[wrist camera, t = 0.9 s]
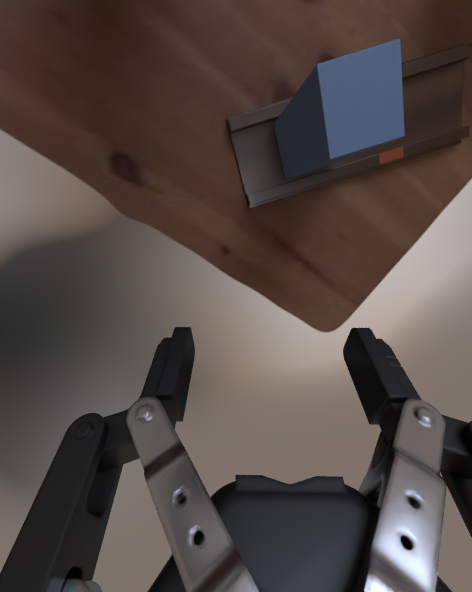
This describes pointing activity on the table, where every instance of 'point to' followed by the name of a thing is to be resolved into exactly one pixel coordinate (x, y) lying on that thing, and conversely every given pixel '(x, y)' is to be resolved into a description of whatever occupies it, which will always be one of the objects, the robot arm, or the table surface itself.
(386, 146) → the track
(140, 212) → the table surface
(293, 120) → the block
